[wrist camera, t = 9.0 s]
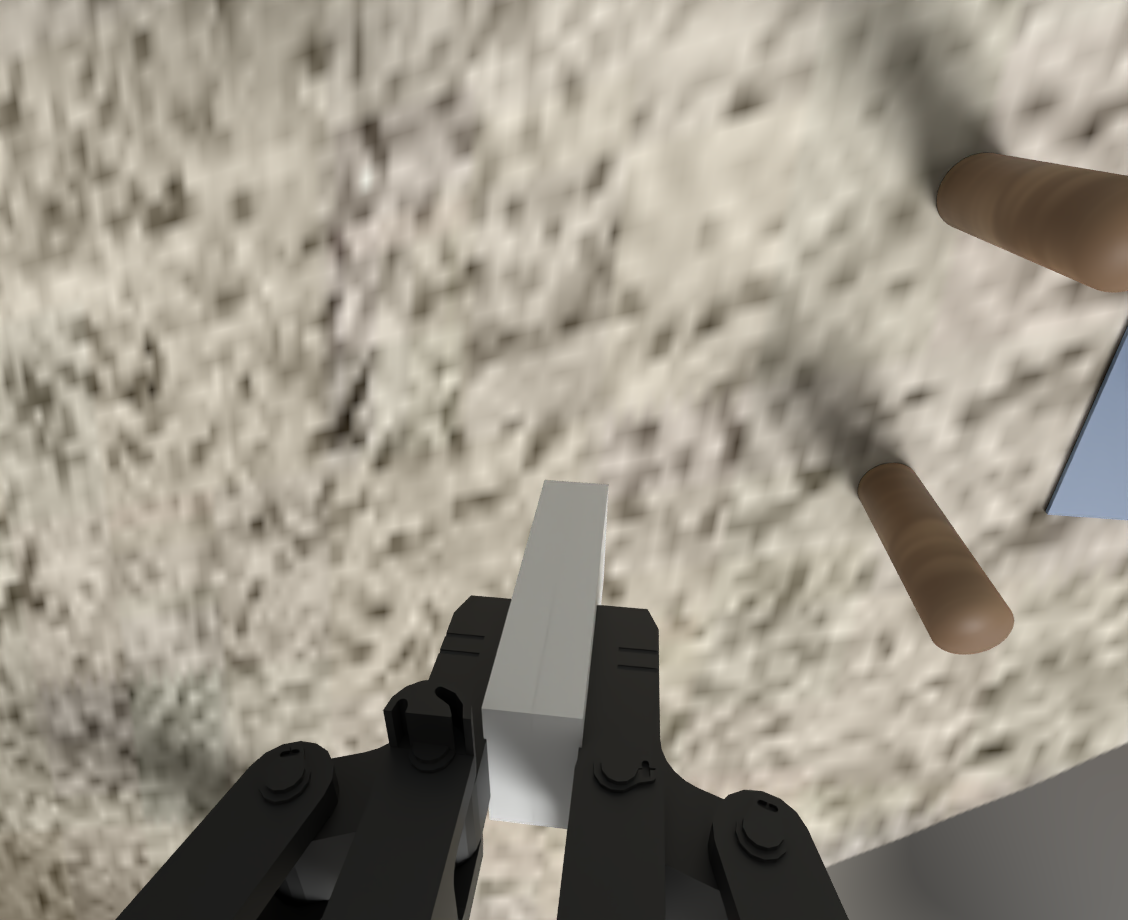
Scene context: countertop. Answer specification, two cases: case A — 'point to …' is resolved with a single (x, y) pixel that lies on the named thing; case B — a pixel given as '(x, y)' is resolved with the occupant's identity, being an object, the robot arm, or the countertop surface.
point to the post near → (1043, 214)
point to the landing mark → (1100, 453)
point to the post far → (934, 563)
